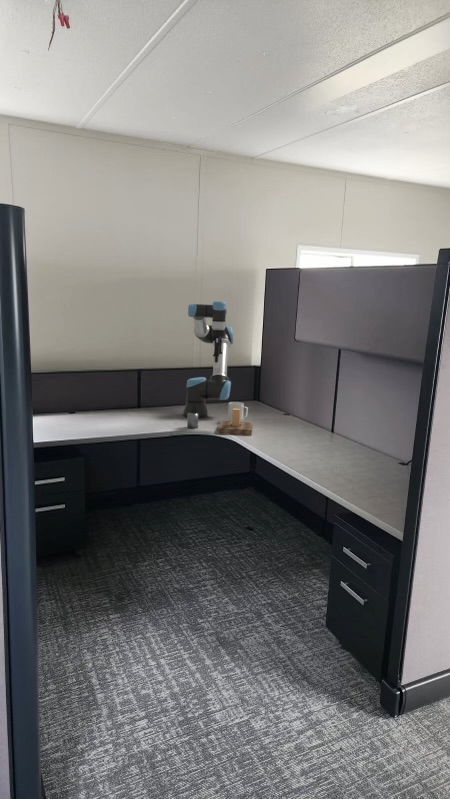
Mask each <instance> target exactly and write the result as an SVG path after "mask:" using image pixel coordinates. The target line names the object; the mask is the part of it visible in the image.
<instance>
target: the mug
mask: <svg viewBox="0 0 450 799" xmlns="http://www.w3.org/2000/svg"><path fill="white" fill-rule="evenodd" d="M233 408H237V409H240V422H244V419H246V418H247V417H248V412H249V407H247V406H245V404H244V402H241V401H240V402H239V401H230V402H228V408H227V410H228V411H227V414H228V416H227V421H232V410H233ZM244 409H245V416H244Z"/></svg>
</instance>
